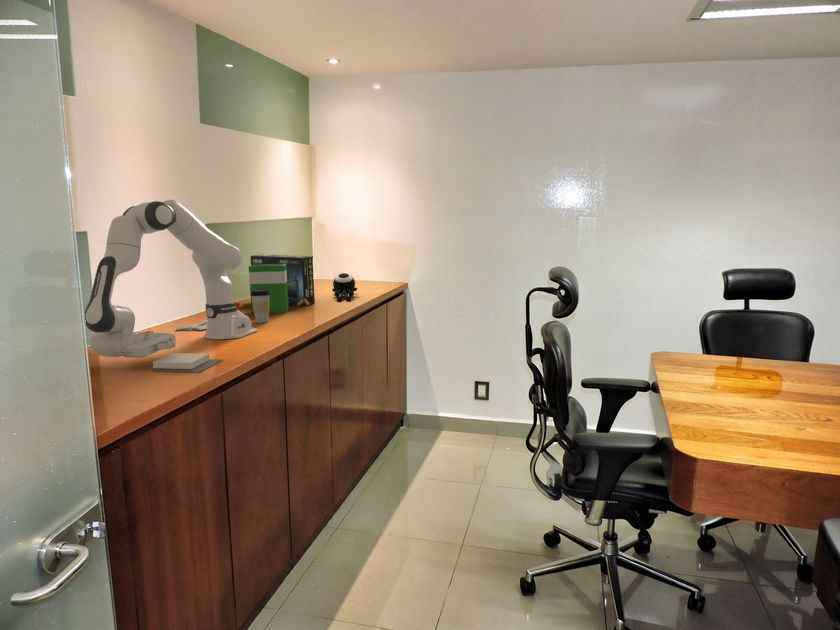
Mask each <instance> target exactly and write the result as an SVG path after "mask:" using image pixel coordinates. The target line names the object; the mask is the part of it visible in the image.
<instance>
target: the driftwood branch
mask: <svg viewBox="0 0 840 630" xmlns="http://www.w3.org/2000/svg"><path fill="white" fill-rule="evenodd" d="M206 327H207V318H206V319H203V320H201V321H198V323H195V324H194V325H184V326H178V327H177V328H176V329H175V331H188V332H192V331H194V330H195V331H202V330H206Z"/></svg>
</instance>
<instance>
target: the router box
mask: <svg viewBox="0 0 840 630" xmlns="http://www.w3.org/2000/svg"><path fill="white" fill-rule="evenodd" d="M313 258H314V255H293V254H292V255H290V254H287V255H286V254H266V253H265V254H254V255H250V266H251V265H264V264H286V270H287V287H288V305H289V306H295V307H296V306H297V307H305V306H306V307H307V306H310V305H312V304H315V303H316V299H315V282H314V265H313V264H314V261H313Z"/></svg>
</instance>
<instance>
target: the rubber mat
mask: <svg viewBox="0 0 840 630" xmlns="http://www.w3.org/2000/svg"><path fill="white" fill-rule="evenodd" d="M221 362H223V359H215V358H214V359H213V358H211V359H210V358H209V360H208V361H207V362H205V363H203V364H201V365H199V366H197V367H195V368H193V369H156V368H154V369H153V370H152V372H158V373H159V372H161V373H162V372H163V373H187V374H188V373H189V374H190V373H192V374H193V373H194V374H200V373H203V372H204V371H206V370H208V369H210V368H212V367H213V366H215V365H217V364H218V363H221Z"/></svg>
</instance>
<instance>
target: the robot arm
mask: <svg viewBox="0 0 840 630" xmlns="http://www.w3.org/2000/svg"><path fill="white" fill-rule="evenodd" d="M165 230H167V231H168V232H169V233H171V235H173V236H174V238H175V239H177V240H178V241H179V242H180V243H181V244H182V245H183V246H184V247H185V248H187V249H188V250H190V251H192V253H191V257H192V258H191V259H192V260H193V263H195V265H196V267H197V268H198V270H199V273H200V275H201V278H202V281H203V285H204V292H205V300H206V301H205V302H206V303H205V312H206V319H207V323H206V326H207V327H206V329H205V335H204V337H205V338H206V339H208V340H228V339H240V338H243V337H245V336H248V335H250V334H253V333H256V332H258V328H256V327H252V322H251V318H250V317H249V316H248V315H246V314H244V313H243V312H242V311H240V310H239V308H241V307H243V303H242V301H237V302H235V298H234V297H235V294H234V285H233V282H232V281H231V279H230V278H229V277H228V274H227V272H228V271H232V270H235V269H238V268H239V266H241V264H242V260H243V255H242V252H241V250H240V249H239V248H238V247H236V246H234V245H232V244H230V243H229V242H227V240H224V239H223V238H222V237H220V236H219V235H218V234H216V233H214V232H213V231H212V230H210V229H209V228H208V227H206V226H205V224H204V223H202V222H201V221H200V220H199V219H198V218H197V217H196V216H195V214H193V213H192V212H191V211H190V210H189V209H188V208H186V207H185V206H183V204H181V203H180V202H178V201H176V200H174V199H167V200H164V201H159V200H158V201H156V200H155V201H154V200H153V201H148V202H142V203H140V204H137V205H134V206H130V207H129V208H127V209H126V210H125V211H124V212H123V214H122V215H118V216H115V217H114V218H113V219H112V220H111V222H110V226H109V228H108V234H107V239H106V244H105V245H106V247H105V252H104V255H103V257H102V258H101V260H100V261H99V262H98V266H97V268H96V273H95V275H94V279H93V280H94V281H93V285H92V289H91V290H92V291H91V294H90V297H89V298H90V299H89V300H88V303H87V305H86V308H85V311H84V313H85V320H86V324H85V327H87V329H88V330H90V331H91V332H94V333H93V334H92V335H90V338H89V348H90V349H91V351H92V352H93V353H94V354H96V355H98V356H101V357H108V358H119V357H124V358H131V359H132V358H134V359H135V358H136V359H137V358H139V359H140V358H141V359H142V358H145V357H148V356H150V355H153V354H155V353H157V352H160V351H163V350H172V349H174V348H177V347H176V346H177V345H176V343H177V341H176V334H174V333H167V332H154V330H149V331H134V330H135V324H136V317H135V314H134V312H133V311H132V309H130V308H129V307H126V306H121V305H115V304H112V302H111V301H112V294H113V292H114V291H113V290H114V288H115V287H114V285H115V282H116V280H117V278H118V277H119V276H120V275H122V274H124V273H128V272H130V271H132V270H134V269H135V268H136V267H137V266H138V265H139V261H140V259H141V249H142V238H143V235H147V234H154V233H156V232H159V231H160V232H161V231H165Z"/></svg>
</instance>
